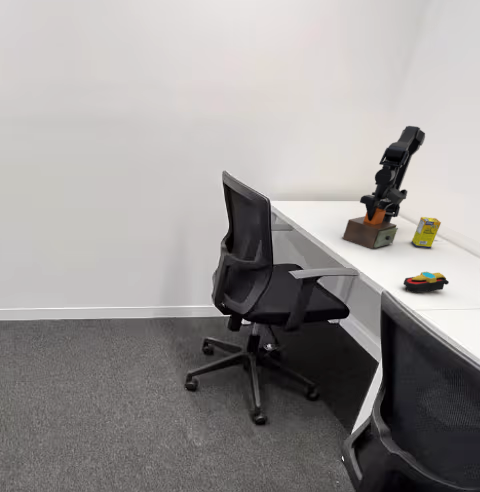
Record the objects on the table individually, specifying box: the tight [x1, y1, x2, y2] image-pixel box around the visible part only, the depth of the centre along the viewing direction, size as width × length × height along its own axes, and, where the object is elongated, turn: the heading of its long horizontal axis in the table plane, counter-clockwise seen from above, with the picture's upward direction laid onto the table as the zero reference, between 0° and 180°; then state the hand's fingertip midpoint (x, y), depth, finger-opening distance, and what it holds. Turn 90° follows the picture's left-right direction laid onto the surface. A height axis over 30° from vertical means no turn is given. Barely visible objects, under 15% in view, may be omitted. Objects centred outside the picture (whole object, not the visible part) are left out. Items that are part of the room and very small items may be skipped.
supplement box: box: [410, 216, 442, 249], centre depth 223 cm, size 6×6×11 cm
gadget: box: [403, 271, 450, 293], centre depth 185 cm, size 6×13×6 cm, turn 95°
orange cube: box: [364, 208, 386, 225], centre depth 222 cm, size 5×5×5 cm
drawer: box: [374, 226, 398, 248], centre depth 224 cm, size 14×11×6 cm
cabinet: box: [342, 215, 397, 250], centre depth 225 cm, size 14×13×8 cm
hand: (373, 219), depth 222 cm, fingers closed on orange cube, 5 cm apart
